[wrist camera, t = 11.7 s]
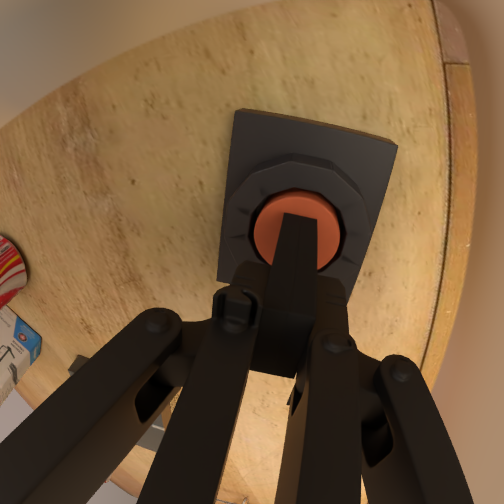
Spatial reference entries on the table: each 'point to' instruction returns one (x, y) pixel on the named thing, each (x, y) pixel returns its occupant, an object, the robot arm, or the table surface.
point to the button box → (303, 184)
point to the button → (304, 206)
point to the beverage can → (10, 272)
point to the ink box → (15, 350)
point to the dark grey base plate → (155, 431)
